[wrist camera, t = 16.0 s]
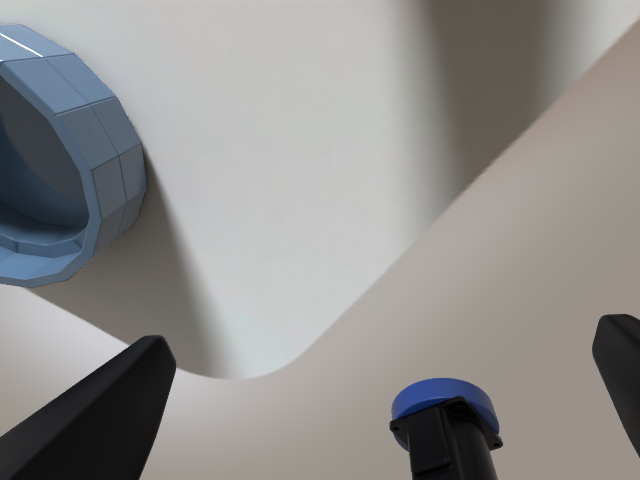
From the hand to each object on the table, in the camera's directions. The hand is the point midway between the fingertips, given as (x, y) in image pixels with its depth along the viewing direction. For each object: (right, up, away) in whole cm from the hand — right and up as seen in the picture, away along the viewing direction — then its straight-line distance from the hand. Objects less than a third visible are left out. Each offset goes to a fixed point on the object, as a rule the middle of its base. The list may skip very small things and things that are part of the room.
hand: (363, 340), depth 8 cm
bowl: (-16, +7, +13) cm, 22 cm away
